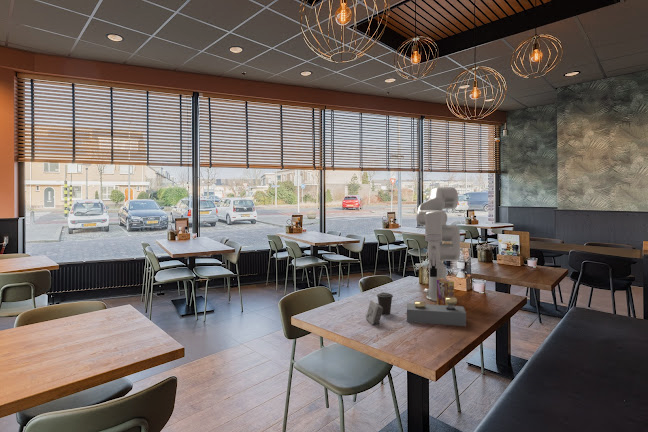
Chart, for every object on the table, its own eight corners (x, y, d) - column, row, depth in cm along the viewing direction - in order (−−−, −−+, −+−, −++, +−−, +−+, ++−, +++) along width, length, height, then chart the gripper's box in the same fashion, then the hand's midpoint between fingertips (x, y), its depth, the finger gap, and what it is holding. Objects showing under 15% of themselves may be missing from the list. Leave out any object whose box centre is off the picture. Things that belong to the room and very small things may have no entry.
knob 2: (445, 313, 166) (445, 299, 165) (444, 310, 170) (444, 296, 170) (457, 314, 164) (457, 300, 164) (455, 310, 169) (456, 297, 169)
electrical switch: (365, 318, 173) (367, 299, 173) (375, 319, 174) (377, 300, 174) (371, 325, 164) (373, 305, 164) (382, 325, 165) (384, 305, 165)
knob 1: (414, 317, 169) (414, 303, 169) (414, 313, 174) (414, 300, 174) (425, 318, 168) (425, 304, 168) (425, 314, 173) (425, 301, 172)
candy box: (454, 311, 183) (454, 281, 182) (447, 312, 181) (447, 282, 181) (442, 306, 191) (443, 277, 190) (436, 307, 190) (436, 278, 189)
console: (406, 322, 168) (406, 309, 167) (407, 315, 177) (407, 303, 177) (466, 326, 161) (466, 313, 161) (463, 318, 171) (463, 306, 171)
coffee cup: (383, 309, 187) (383, 290, 186) (396, 313, 181) (396, 293, 180) (373, 313, 181) (373, 293, 180) (386, 317, 175) (386, 296, 175)
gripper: (442, 239, 159) (442, 280, 160) (441, 236, 174) (441, 273, 175) (425, 239, 161) (424, 279, 162) (425, 235, 176) (425, 272, 177)
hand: (433, 276), depth 168 cm, fingers closed
